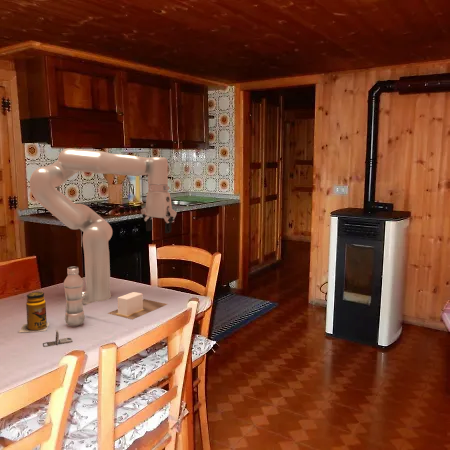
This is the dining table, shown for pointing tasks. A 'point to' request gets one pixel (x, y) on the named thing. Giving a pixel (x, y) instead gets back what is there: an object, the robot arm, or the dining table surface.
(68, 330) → the dining table surface
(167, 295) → the dining table surface
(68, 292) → the plastic bottle
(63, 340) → the strap clip
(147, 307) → the board
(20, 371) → the dining table surface
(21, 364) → the dining table surface
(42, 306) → the condiment
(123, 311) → the block
